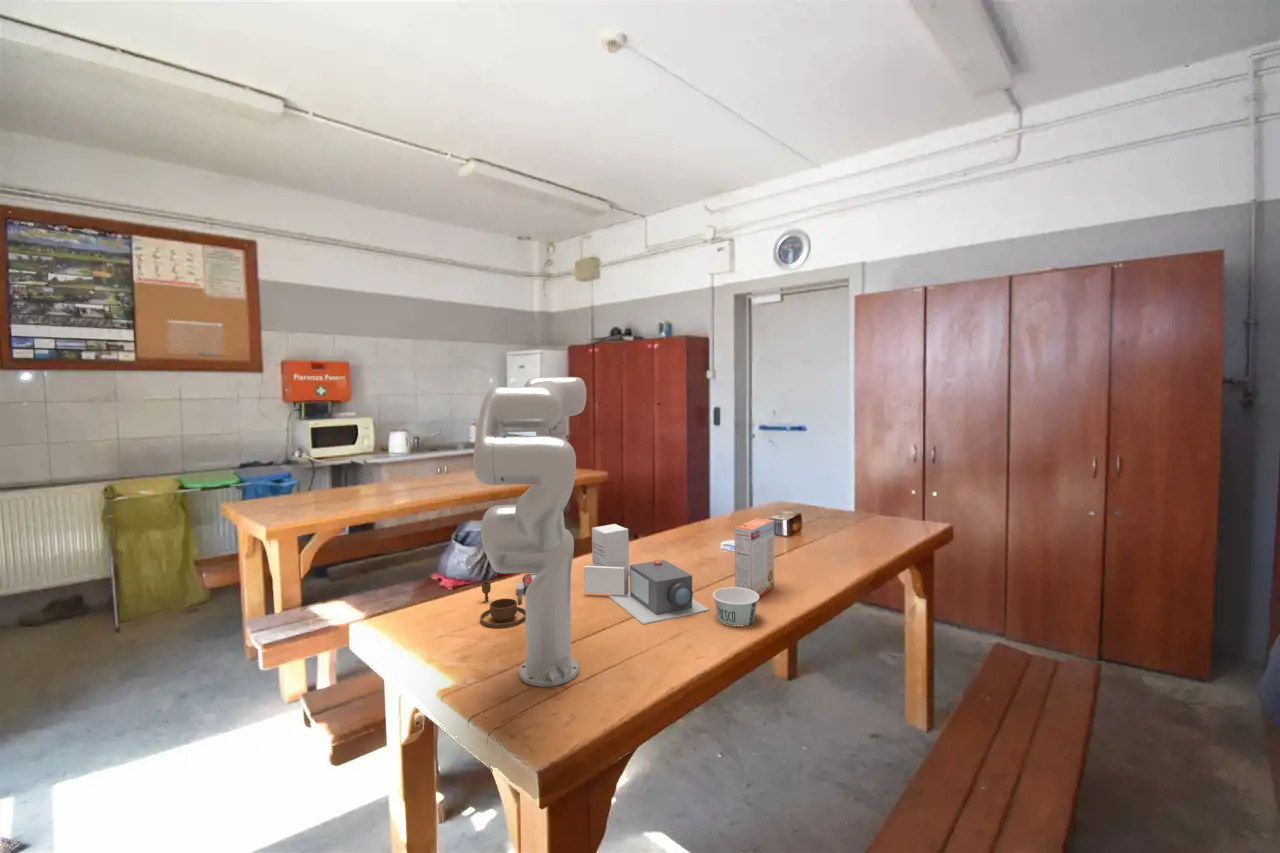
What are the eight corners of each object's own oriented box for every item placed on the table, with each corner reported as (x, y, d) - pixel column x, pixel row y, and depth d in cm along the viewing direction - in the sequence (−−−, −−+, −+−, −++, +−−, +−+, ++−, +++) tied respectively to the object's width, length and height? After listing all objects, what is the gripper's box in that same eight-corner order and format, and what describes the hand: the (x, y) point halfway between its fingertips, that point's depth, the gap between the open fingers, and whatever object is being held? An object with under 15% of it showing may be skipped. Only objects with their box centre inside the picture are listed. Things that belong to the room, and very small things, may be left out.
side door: (584, 592, 171) (583, 567, 171) (585, 591, 173) (585, 565, 172) (627, 594, 169) (627, 568, 169) (628, 593, 171) (628, 567, 170)
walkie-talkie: (516, 582, 185) (515, 606, 165) (516, 568, 184) (515, 591, 165) (545, 580, 186) (547, 604, 167) (545, 567, 186) (547, 589, 166)
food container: (765, 615, 156) (765, 591, 156) (749, 632, 146) (749, 606, 145) (723, 607, 162) (723, 584, 162) (705, 623, 152) (705, 598, 152)
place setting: (463, 631, 149) (462, 608, 149) (480, 602, 169) (480, 581, 168) (533, 629, 150) (533, 606, 149) (542, 600, 170) (542, 580, 169)
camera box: (709, 610, 160) (709, 573, 159) (643, 624, 151) (642, 585, 150) (669, 585, 180) (669, 552, 179) (608, 596, 171) (608, 562, 170)
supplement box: (615, 567, 198) (615, 523, 197) (629, 574, 190) (629, 528, 189) (591, 572, 193) (590, 527, 192) (605, 579, 185) (604, 532, 184)
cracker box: (756, 584, 180) (757, 516, 179) (775, 588, 176) (775, 519, 175) (733, 597, 169) (733, 525, 168) (752, 602, 166) (752, 529, 164)
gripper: (576, 430, 139) (578, 507, 140) (556, 426, 152) (557, 497, 154) (546, 432, 136) (547, 511, 137) (527, 427, 149) (529, 499, 150)
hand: (552, 503), depth 145 cm, fingers closed
